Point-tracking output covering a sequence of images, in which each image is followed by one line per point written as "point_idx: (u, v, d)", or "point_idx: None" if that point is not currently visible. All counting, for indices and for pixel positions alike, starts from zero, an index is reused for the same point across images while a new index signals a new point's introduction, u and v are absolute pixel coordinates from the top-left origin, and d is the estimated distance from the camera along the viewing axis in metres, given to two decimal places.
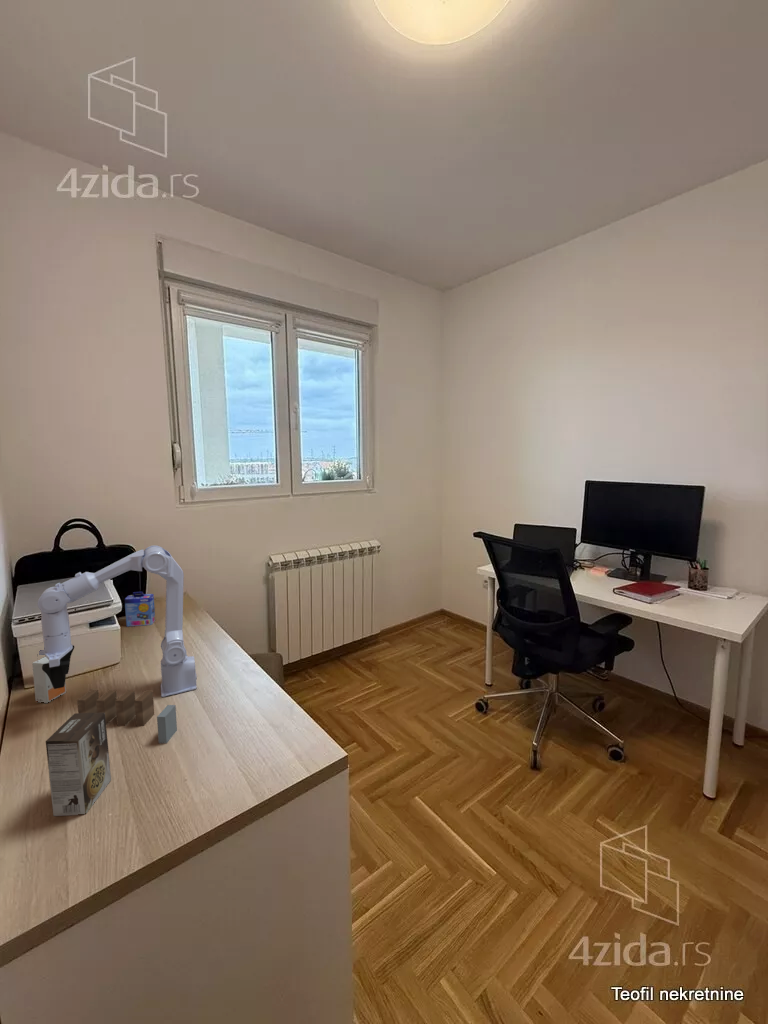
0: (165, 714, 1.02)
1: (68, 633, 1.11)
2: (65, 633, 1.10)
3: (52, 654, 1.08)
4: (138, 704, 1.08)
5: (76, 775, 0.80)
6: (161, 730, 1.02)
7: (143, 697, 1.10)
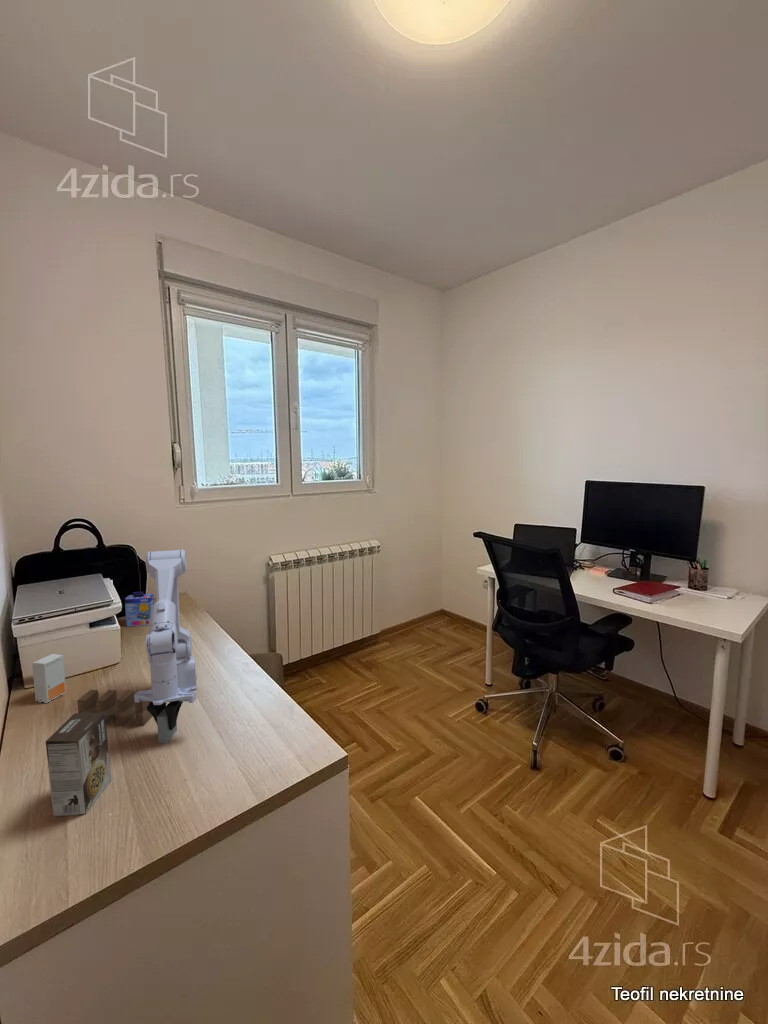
0: (165, 714, 1.02)
1: None
2: None
3: (175, 696, 1.03)
4: (138, 704, 1.08)
5: (76, 775, 0.80)
6: (161, 730, 1.02)
7: None
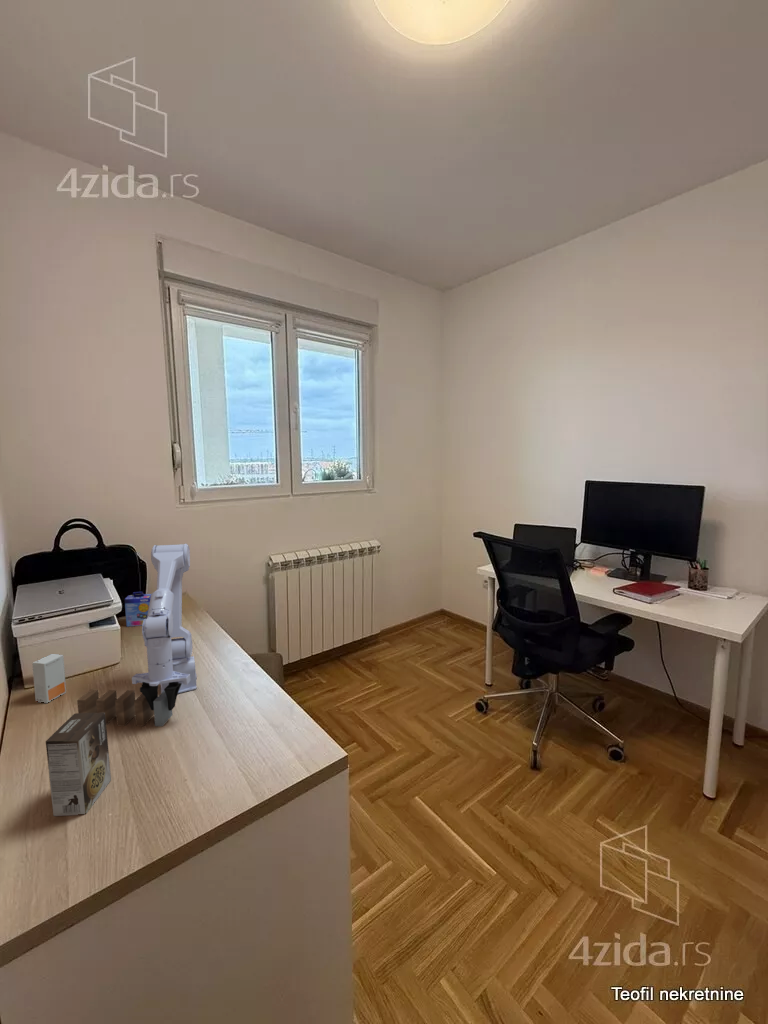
0: (161, 699, 1.09)
1: None
2: None
3: (170, 678, 1.09)
4: (138, 704, 1.08)
5: (76, 775, 0.80)
6: (157, 714, 1.08)
7: (143, 697, 1.10)
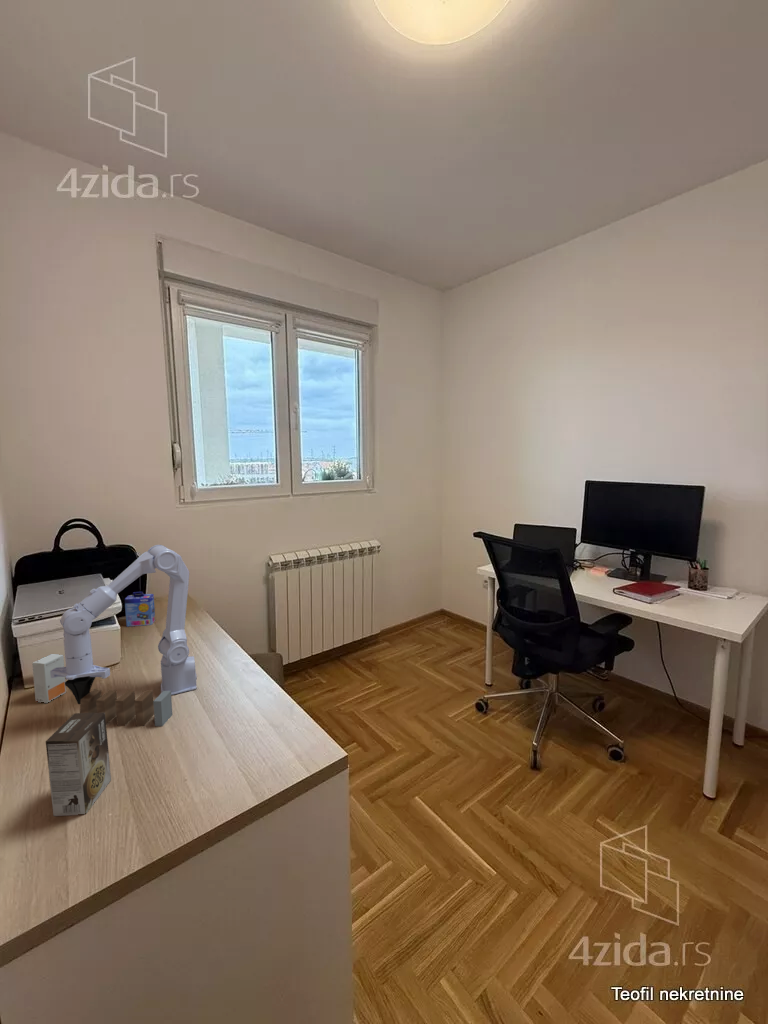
0: (161, 699, 1.09)
1: None
2: None
3: (89, 672, 1.09)
4: (138, 704, 1.08)
5: (76, 775, 0.80)
6: (157, 714, 1.08)
7: (143, 697, 1.10)
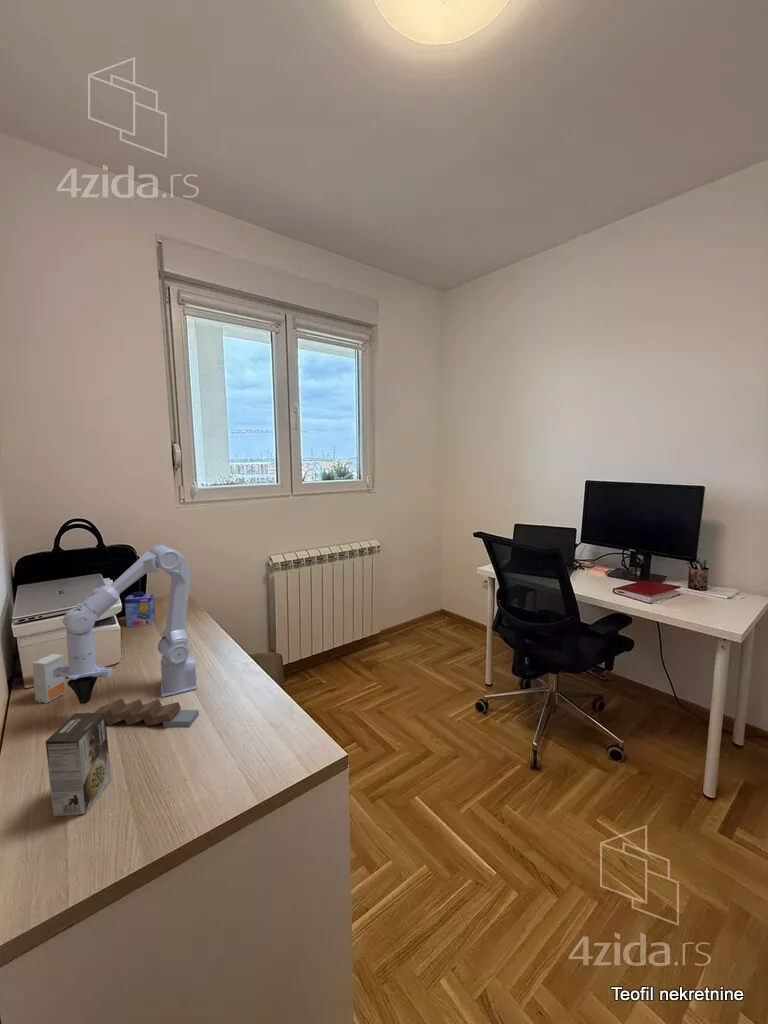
0: (191, 724, 1.10)
1: None
2: None
3: (91, 672, 1.09)
4: (165, 717, 1.08)
5: (76, 775, 0.80)
6: (176, 724, 1.09)
7: (172, 714, 1.09)
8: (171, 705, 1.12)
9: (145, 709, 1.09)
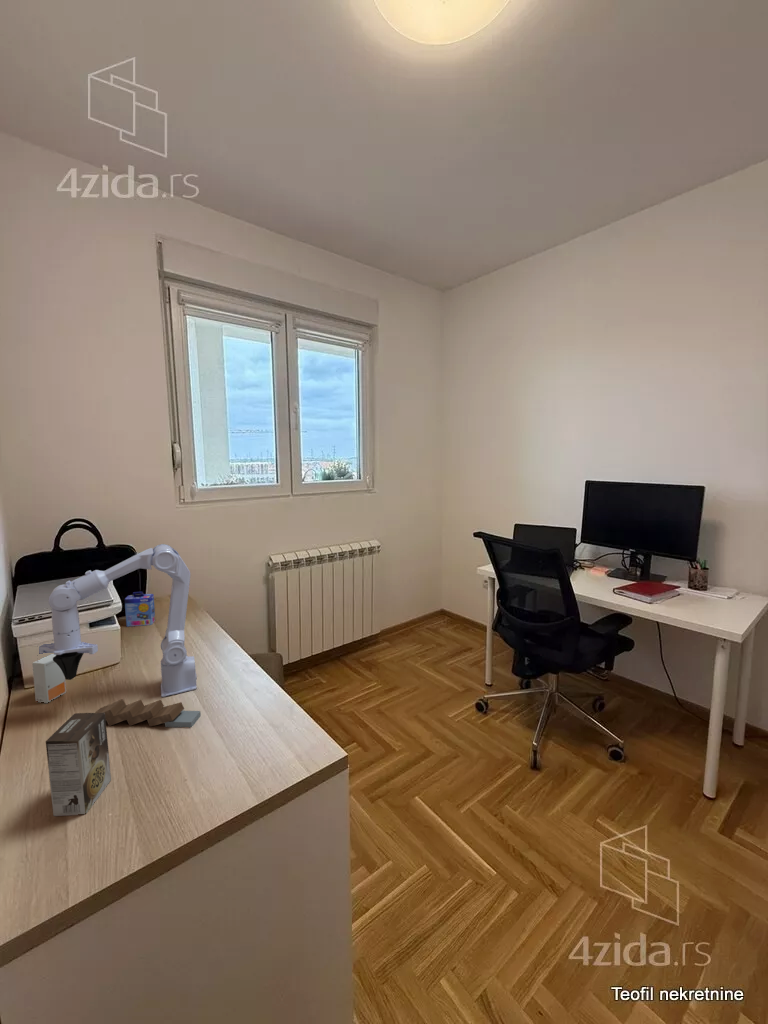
0: None
1: None
2: None
3: (76, 648, 1.11)
4: (167, 718, 1.07)
5: (76, 775, 0.80)
6: (178, 725, 1.08)
7: (175, 714, 1.09)
8: (174, 705, 1.11)
9: (147, 710, 1.09)
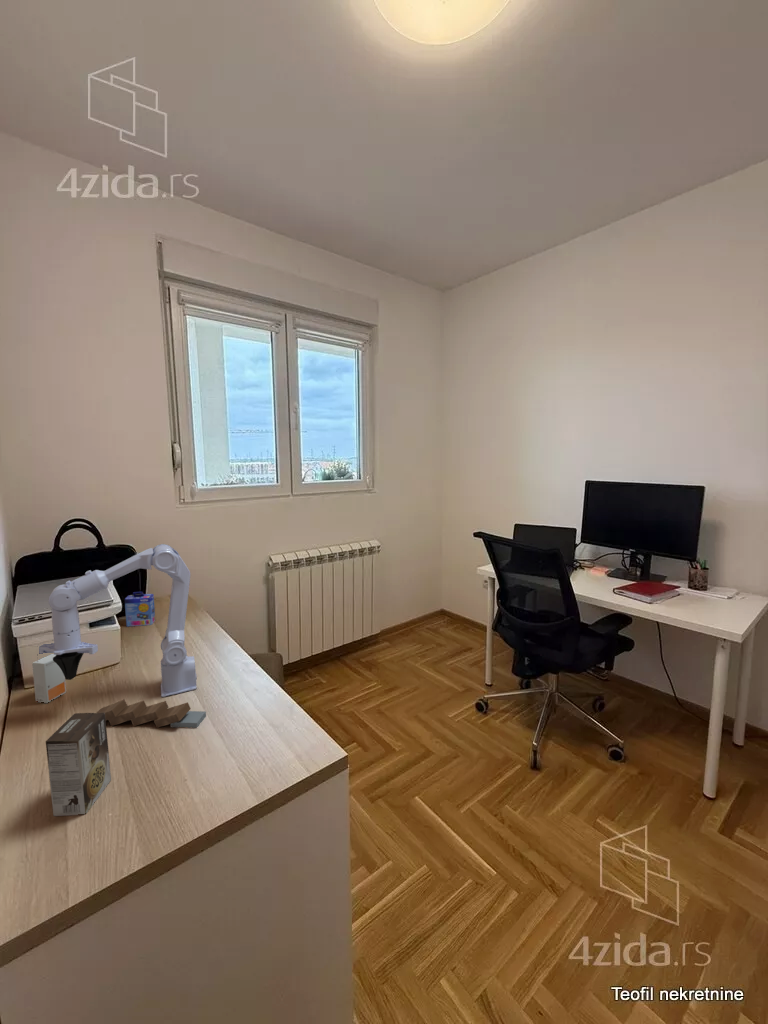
0: None
1: None
2: None
3: (76, 648, 1.11)
4: (174, 718, 1.07)
5: (76, 775, 0.80)
6: (183, 725, 1.08)
7: (182, 715, 1.08)
8: (181, 706, 1.11)
9: (152, 711, 1.09)
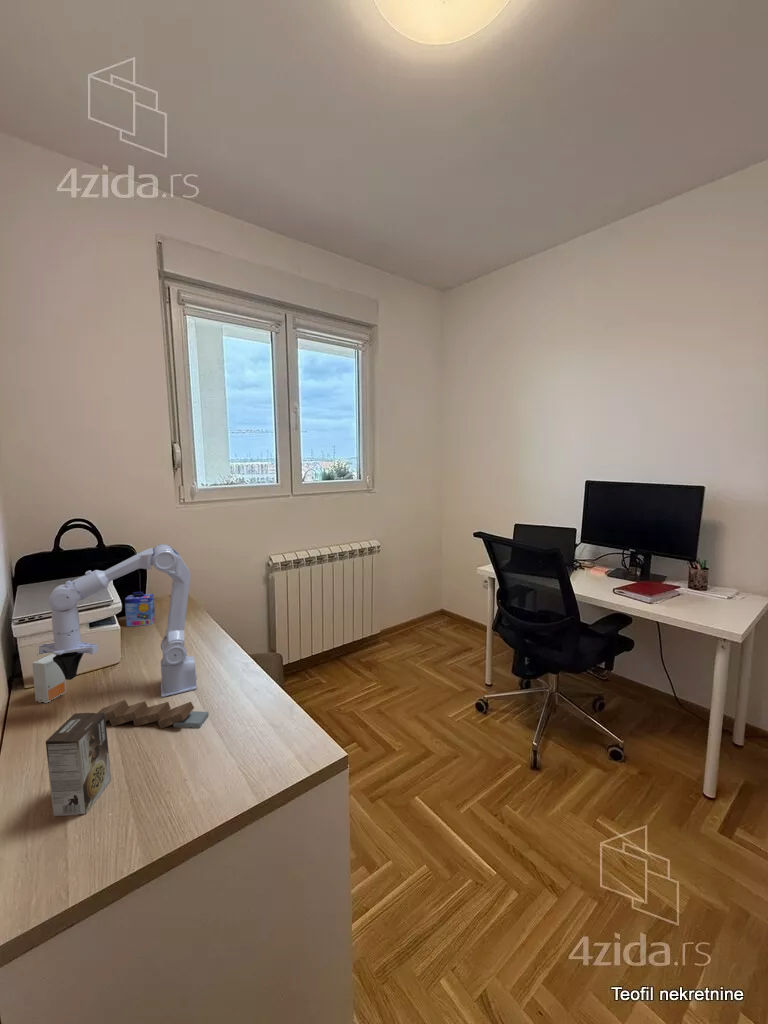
0: None
1: None
2: None
3: (76, 648, 1.11)
4: (178, 717, 1.07)
5: (76, 775, 0.80)
6: (186, 726, 1.08)
7: (186, 714, 1.08)
8: (184, 705, 1.11)
9: (154, 712, 1.09)
